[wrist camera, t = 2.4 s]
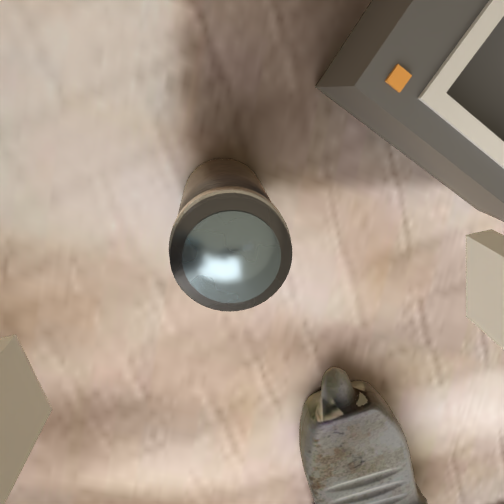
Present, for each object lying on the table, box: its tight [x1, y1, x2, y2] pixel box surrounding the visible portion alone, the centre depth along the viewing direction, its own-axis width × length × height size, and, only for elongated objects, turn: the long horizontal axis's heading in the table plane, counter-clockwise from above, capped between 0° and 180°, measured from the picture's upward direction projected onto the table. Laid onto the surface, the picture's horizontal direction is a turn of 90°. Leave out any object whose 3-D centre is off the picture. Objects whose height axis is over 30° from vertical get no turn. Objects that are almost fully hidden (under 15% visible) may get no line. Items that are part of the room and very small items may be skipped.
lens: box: [169, 158, 292, 311], centre depth 22 cm, size 5×5×10 cm
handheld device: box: [299, 367, 428, 504], centre depth 33 cm, size 10×20×5 cm, turn 16°
